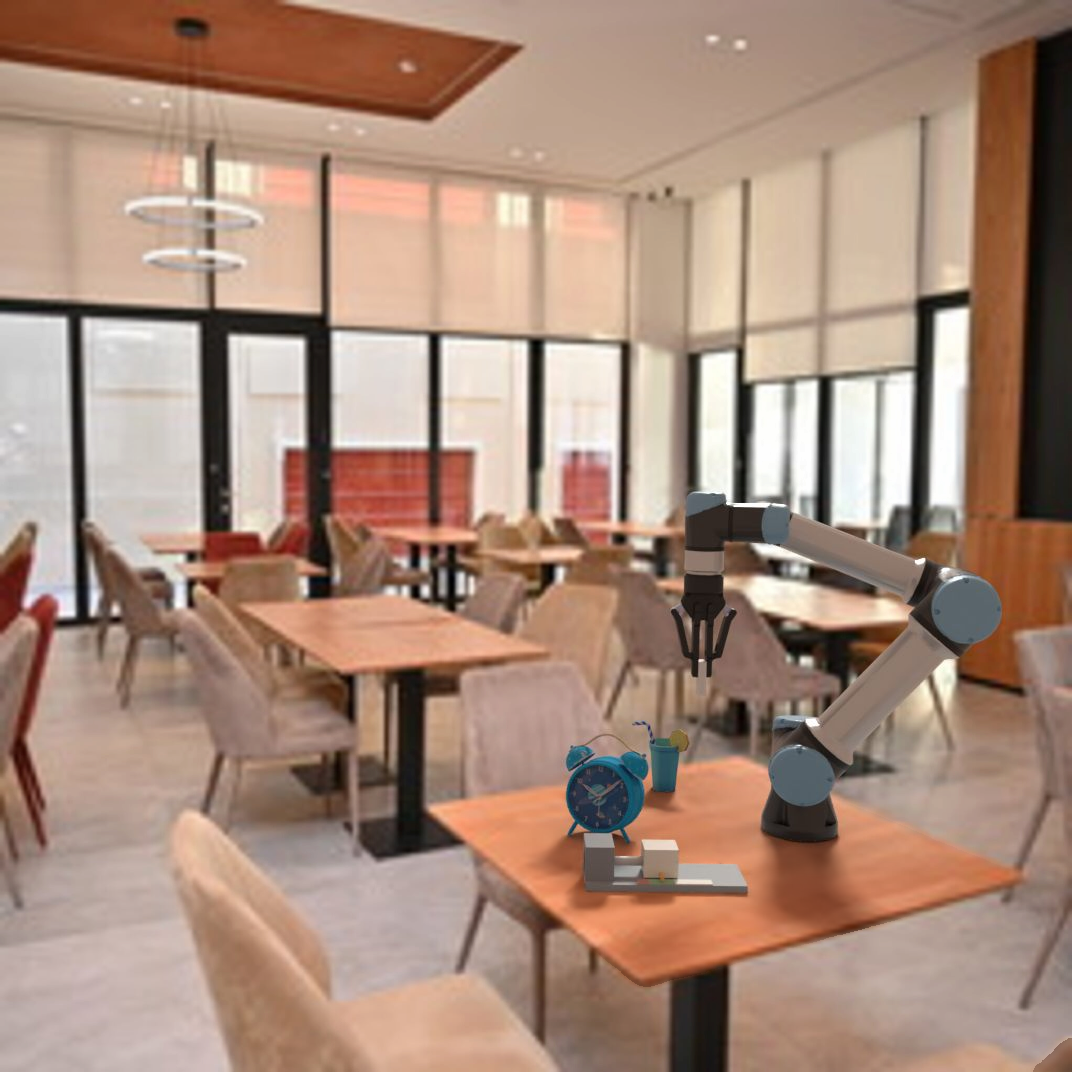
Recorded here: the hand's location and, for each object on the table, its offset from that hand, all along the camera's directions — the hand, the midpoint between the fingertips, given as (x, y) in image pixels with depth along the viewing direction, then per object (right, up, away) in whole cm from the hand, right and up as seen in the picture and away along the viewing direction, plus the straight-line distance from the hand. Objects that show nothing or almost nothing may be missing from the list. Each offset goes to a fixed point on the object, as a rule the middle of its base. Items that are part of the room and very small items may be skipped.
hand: (700, 693), depth 206 cm
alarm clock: (-18, -29, +5) cm, 35 cm away
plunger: (-14, -29, -18) cm, 37 cm away
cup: (-4, -27, +36) cm, 45 cm away
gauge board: (-9, -31, -17) cm, 36 cm away
